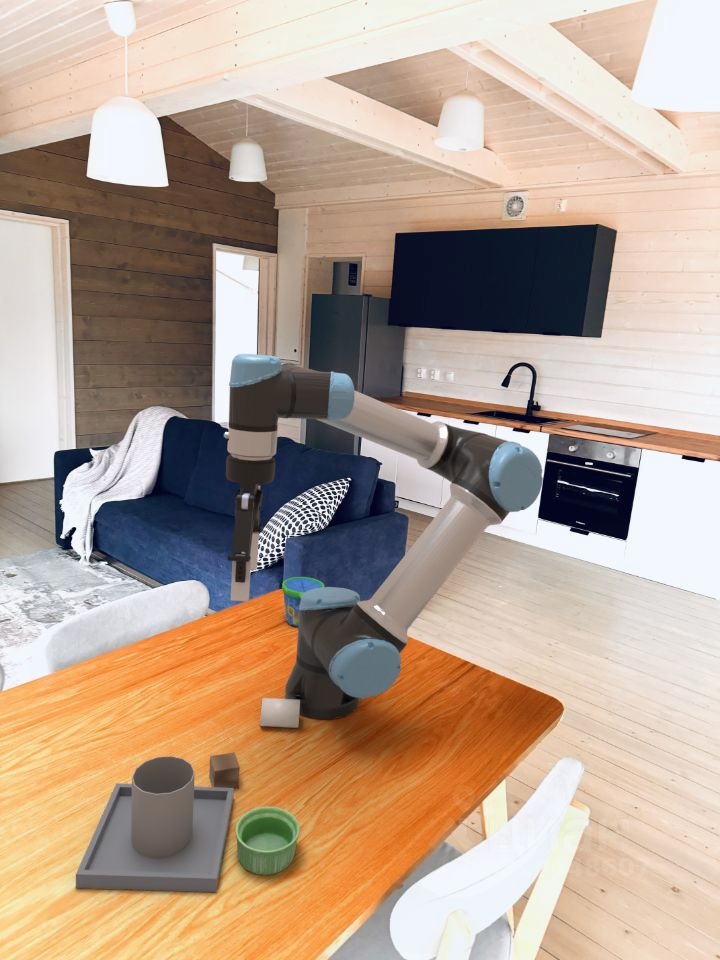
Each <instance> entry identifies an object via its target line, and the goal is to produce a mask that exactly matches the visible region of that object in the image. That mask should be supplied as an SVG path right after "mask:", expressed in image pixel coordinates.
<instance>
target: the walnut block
mask: <svg viewBox="0 0 720 960" xmlns="http://www.w3.org/2000/svg"><path fill="white" fill-rule="evenodd" d="M240 770H241V767H240V765H239V761H238V757H237V756H236V753H235V751H233V752H229V753H221V754H216V755H210V756H209V777H208V778H209V780H210V781H209V782H210V785H211V787H221V788H234V790H237V789H239V788H240V787H239V786H240Z"/></svg>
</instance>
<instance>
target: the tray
mask: <svg viewBox="0 0 720 960" xmlns="http://www.w3.org/2000/svg"><path fill="white" fill-rule="evenodd" d="M234 792H235V789H234V788H221V787H212V786H195V785H194V803H193V828H192V836H191V839H190V842H189V843H188V844H187V845H186V846H185V847H184V848H183V849H182V850H181V851H180V852H177V853H175V854H173V855H171V856H169V857H161V858H151V857H147V856H143V855H141V854H139V853H138V852H137V851H136V850H135V849H134V848H133V845H132V841H131V806H132V783H119V782H117V783H115V785H114V788H113V790H112V792H111V794H110V796H109V799H108V802H107V803H106V806H105V808H104V810H103V813H102V814H101V817H100V819H99V821H98V824H97V826H96V828H95V830H94V833H93V835H92V837H91V840H90V841H89V844H88V846H87V848H86V850H85V853H84V855H83V857H82V859H81V862H80V864H79V866H78V868H77V871H76V873H75V889H91V888H97V889H98V888H100V889H98V890H125V889H129V890H130V889H132V890H131V891H133V890H134V891H158V892H159V891H167V892H169V891H170V892H192V893H193V892H197V893H198V892H200V893H201V892H202V893H217V889H218V884H219V877H220V872H221V868H222V863H223V858H224V851H225V846H226V842H227V841H226V840H227V837H228V830H229V824H230V819H231V813H232V808H233V802H234ZM102 888H103V889H102ZM106 888H107V889H106ZM108 888H110V889H108ZM97 889H96V890H97Z"/></svg>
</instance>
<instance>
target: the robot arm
mask: <svg viewBox="0 0 720 960" xmlns="http://www.w3.org/2000/svg"><path fill="white" fill-rule="evenodd" d="M230 369H231V370H230V380H229V383H228V386H229V400H228V401H229V402H228V403H229V405H228V406H229V407H228V431H225V432H224V433H223V438H225V439H228V441H227V452H228V453H229V455H228V456H226V465H225V466H226V467H225V477H226V479H227V480H228V481H230V482H233V483H238V484H240V488H237V492H235V496H234V500H235V502H234V503H235V509H234V529H233V539H232V549H231V550H232V552H231V555H230V554H228V555H227V561H228V562H232V564H231V565H232V566H231V583H230V584H231V586H230V601H234V602H249V601H250V586H251V571H252V570H253V571H258V570H257V569H258V559H259V558H258V557H259V556H258V555H259V538H260V532H264V525H263V524H261V507H262V501H263V493H264V492H263V491H264V490H262V489H261V486H262V485H266V484H269V483H272V482H273V481H274V480H275V474H276V473H275V472H276V459H275V457H273V456H275V455H276V454H277V446H278V445H277V444H278V432H279V431H278V427H279V425H278V424H279V419H302V420H303V419H304V420H317V421H319V422H321V423H324V424H326V425H329V426H332V427H335V428H337V429H339V430H342V431H345V432H347V433H350V434H351V435H354V436H357V437H360V438H362V439H365V440H367V441H370V442H372V443H373V444H377V445H380V446H382V447H385V448H387V449H390V450H392V451H395V452H397V453H400V454H403V455H405V456H407V457H410V458H413V459H415V460H416V461H417V464H418V465H419V466H420V467H422V468H424V469H426V470H429V471H431V472H433V473H435V474H437V475H439V476H440V477H442V478H444V479H445V480H447V481H449V482H450V484H449V489H450V497H449V499H448V500H447V501H446V503H445V504H444V505H443V507H442V508H441V509H440V510H439V512H438V513H437V514H436V515H435V516H434V518H433V519H432V520H431V522H430V523H429V524H428V526H427V527H426V528H425V529H424V531H423V532H422V533H421V534H420V535H419V536H418V538H417V540H416V541H415V542H414V543H413V545H412V546H411V547H410V548H409V549H408V551H407V552H406V554H405V555H404V556H403V557H402V559H401V560H400V561H399V562H398V564H397V565H396V566H395V568H393V570H392V571H391V573H390V574H389V575H387V578H386V579H385V580H384V581H383V583H382V584H381V585H380V586H379V588H378V589H377V590H376V591H375V592H374V594H373V595H372V596H371V598H369V599H368V600H361V596H360V594H359V593H358V592H356V591H355V590H353V589H348V588H345V587H335V586H334V587H333V586H326V587H322V588H315V589H311V590H309V591H307V592H305V593H304V594H303V595H302V597H301V602H300V607H299V625H298V627H297V641H296V642H297V644H296V657H295V658H296V659H295V662H294V666H293V668H292V670H291V672H290V674H289V676H288V678H287V681H286V683H285V687H284V699H295V700H300V710H299V715H301V716H304V717H308V718H312V719H319V720H331V719H339V718H343V717H345V716H348V715H350V714H352V713H353V712H355V711H356V710H357V709H358V707H359V706H360V699H367V698H370V697H371V698H372V697H377V696H379V695H381V694H383V693H385V692H386V691H387V690H389V689H390V688H391V687H392V686H393V685H394V684H395V683H396V681H397V679H398V678H399V676H400V674H401V671H402V667H401V664H402V657H401V652H402V651H404V649H405V648H406V646H407V645H408V643H409V638H408V637H409V635H408V630H409V628H410V627H411V626H412V624H413V623H414V622H415V621H416V620H417V618H418V617H419V616H420V615H421V613H422V612H423V610H424V609H425V608H426V607H427V606H428V604H429V603H430V601H431V600H432V599H433V598H434V596H435V595H436V594H437V593H438V591H439V590H440V589H441V587H442V586H443V585H444V583H446V581H447V579H448V578H449V577H450V576H451V574H452V573H453V572H454V570H455V569H456V568H457V567H458V565H459V564H460V563H461V562H462V560H463V559H464V558H465V556H466V555H467V554H468V553H469V551H470V550H471V548H472V547H473V546H474V545H475V544H476V542H477V541H478V540H479V538H480V537H481V535H483V533H484V532H485V531H486V529H487V528H488V527H490V526H494V525H501V524H502V522H503V521H505V519H506V517H507V516H508V515H509V513H515V512H516V513H518V512H520V511H525V510H527V509H528V508H529V507H531V506H532V505H533V504H534V503H535V502H536V500H537V499H538V497H539V495H540V493H541V490H542V487H543V480H544V479H543V478H544V477H543V476H542V475H543V467H542V463H541V462H540V459H539V458H538V456H537V455H536V454H535V452H534V451H532V449H530V448H528V447H526V446H525V445H524V446H523V445H521V444H520V443H518V442H515V441H511V440H510V441H509V440H506V439H502V438H499V437H496V436H492V435H489V434H487V433H484V432H479V431H474V430H469V429H464V428H460V427H457V426H453V425H450V424H447V423H445V422H442V421H440V420H438V421H433V422H432V423H431V422H429V421H427V420H425V419H422V418H421V417H418V416H415V415H413V414H411V413H410V412H409V413H408V412H406V411H404V410H401V409H399V408H397V407H394V406H392V405H390V404H387V403H384V402H383V401H381V400H377V399H376V398H373V397H372V396H368V395H367V394H364V393H361V392H360V391H358V390H355V386H354V383H353V380H352V379H351V377H350V376H349V374H347V373H341V372H340V373H339V372H335V371H318V370H314V369H311V368H306V367H302V366H299V365H296V364H294V363H291V362H283V363H282V360H281V358H280V357H277V356H274V355H267V354H266V355H265V354H264V355H263V354H257V353H255V354H254V353H239V354H237V355H235V356H234V357H233V359H232V361H231V367H230Z"/></svg>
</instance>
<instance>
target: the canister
mask: <svg viewBox="0 0 720 960" xmlns="http://www.w3.org/2000/svg"><path fill="white" fill-rule="evenodd" d="M299 710H300V700H295V699H285V698H274V697H270V698H269V697H262V701H261V709H260V720H259V726H260V727H270V728H273V727H274V728H275V727H276V728H289V729H290V728H293V729H298V728H299V721H300V714H299Z"/></svg>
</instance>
